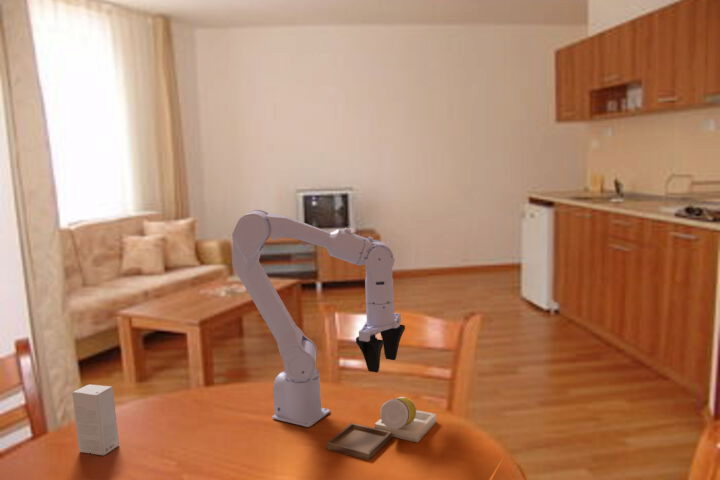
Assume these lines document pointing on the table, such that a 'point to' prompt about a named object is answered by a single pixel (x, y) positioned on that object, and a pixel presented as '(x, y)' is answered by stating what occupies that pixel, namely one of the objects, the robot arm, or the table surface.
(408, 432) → the cream tray
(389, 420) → the supplement bottle
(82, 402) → the skincare box
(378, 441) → the gray square tray
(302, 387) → the robot arm
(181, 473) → the table surface
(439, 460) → the table surface
